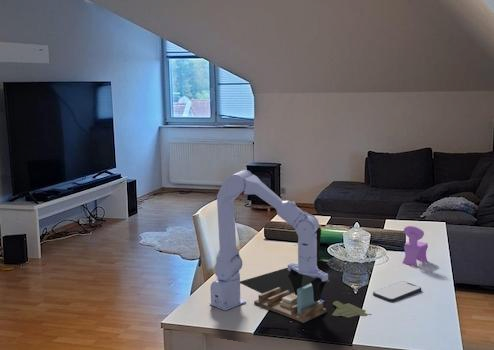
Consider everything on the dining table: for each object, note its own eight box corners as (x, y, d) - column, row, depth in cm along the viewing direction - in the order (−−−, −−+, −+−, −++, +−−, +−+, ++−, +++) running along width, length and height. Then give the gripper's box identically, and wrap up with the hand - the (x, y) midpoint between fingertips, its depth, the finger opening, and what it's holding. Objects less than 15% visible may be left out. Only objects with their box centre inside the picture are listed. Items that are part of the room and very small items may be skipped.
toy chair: (430, 261, 226) (431, 224, 223) (419, 267, 220) (420, 229, 217) (410, 257, 232) (411, 220, 229) (399, 262, 225) (400, 225, 223)
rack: (303, 322, 173) (303, 313, 173) (254, 303, 188) (254, 295, 188) (326, 311, 181) (326, 302, 180) (277, 294, 196) (277, 286, 195)
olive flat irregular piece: (360, 329, 169) (360, 326, 168) (318, 310, 183) (318, 307, 183) (385, 320, 175) (385, 316, 175) (342, 301, 189) (342, 298, 189)
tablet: (295, 265, 224) (331, 279, 208) (295, 267, 224) (331, 281, 208) (238, 281, 208) (273, 298, 192) (238, 283, 208) (273, 300, 192)
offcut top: (290, 304, 182) (290, 300, 181) (282, 301, 184) (282, 297, 184) (300, 299, 185) (300, 296, 185) (292, 296, 188) (292, 293, 187)
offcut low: (290, 309, 181) (290, 305, 181) (279, 305, 184) (279, 301, 184) (302, 303, 185) (302, 300, 185) (292, 300, 188) (292, 296, 188)
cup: (316, 261, 228) (316, 232, 226) (298, 258, 232) (298, 229, 230) (324, 256, 235) (324, 227, 233) (307, 253, 239) (307, 225, 236)
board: (301, 315, 176) (300, 290, 175) (297, 313, 178) (297, 289, 176) (317, 307, 182) (317, 283, 181) (313, 306, 183) (313, 282, 182)
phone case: (391, 304, 187) (423, 292, 196) (391, 300, 187) (423, 287, 196) (371, 296, 194) (402, 284, 203) (371, 292, 194) (402, 280, 203)
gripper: (334, 257, 174) (334, 300, 177) (298, 247, 184) (298, 288, 187) (319, 263, 169) (319, 306, 172) (283, 252, 180) (283, 294, 182)
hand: (307, 297), depth 179 cm, fingers open, 7 cm apart
